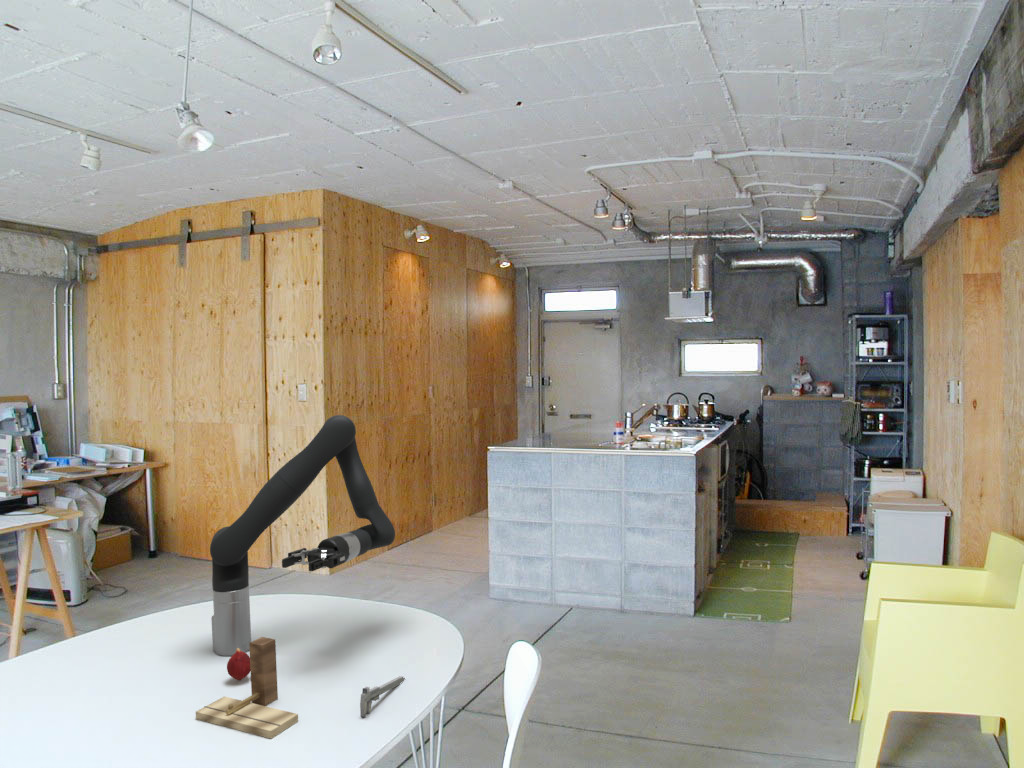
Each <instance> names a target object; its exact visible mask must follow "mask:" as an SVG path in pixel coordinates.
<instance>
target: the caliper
mask: <svg viewBox="0 0 1024 768" xmlns="http://www.w3.org/2000/svg"><path fill="white" fill-rule="evenodd" d="M405 678H406V677H404V676H402V675H401V676H397V677H395V678H393V679H391V680H390V681H387V682H385V683H383V684H382V685H379V686H374V687H372V688H370V687H369V686H365V687H362V692H361V694H360V699H359V700H360V703H359V708H360V710H359V711H360V717H361V718H367V715H368V716H369V715H370V714H371V709H372V705H373V701H374V702H376V701H377V700H380V696H381V695H382V694H384V693H386V692H388V691H390V690H391V689H392V690H393V689H394V688H396V687H397V686H400V685H401V684H402V683H403V682H404V681H405V680H406V679H405ZM404 679H405V680H404ZM402 681H403V682H402ZM401 682H402V683H401ZM400 683H401V684H400ZM399 684H400V685H399Z"/></svg>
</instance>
